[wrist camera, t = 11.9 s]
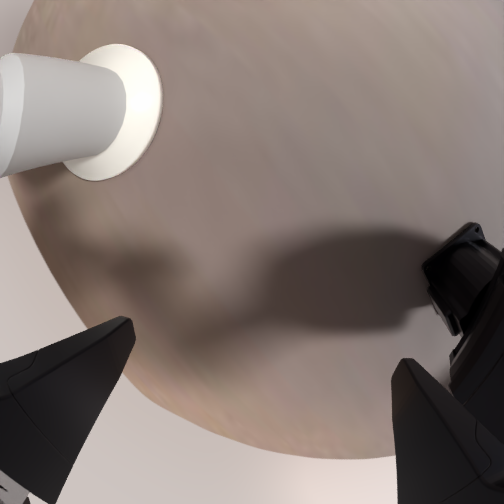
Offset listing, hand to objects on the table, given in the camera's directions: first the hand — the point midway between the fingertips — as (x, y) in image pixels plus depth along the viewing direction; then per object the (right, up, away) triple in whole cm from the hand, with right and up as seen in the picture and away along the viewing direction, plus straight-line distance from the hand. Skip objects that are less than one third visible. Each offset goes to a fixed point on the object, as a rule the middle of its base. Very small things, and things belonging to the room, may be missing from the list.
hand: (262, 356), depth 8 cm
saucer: (-13, +15, +10) cm, 22 cm away
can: (-13, +15, +10) cm, 22 cm away
